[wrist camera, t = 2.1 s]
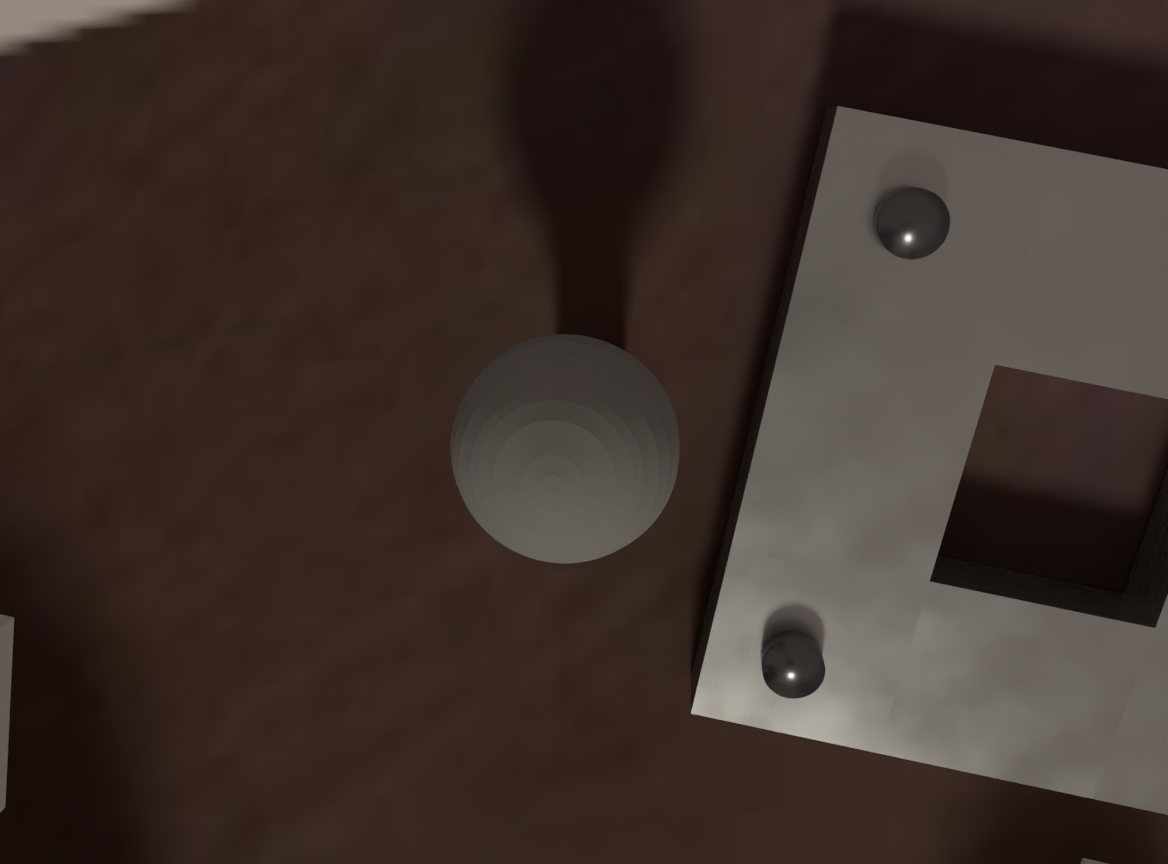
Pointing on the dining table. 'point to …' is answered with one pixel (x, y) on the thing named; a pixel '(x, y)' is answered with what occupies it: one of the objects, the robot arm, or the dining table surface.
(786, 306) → the flange
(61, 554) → the dining table surface
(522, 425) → the light bulb
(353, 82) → the dining table surface
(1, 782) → the robot arm
